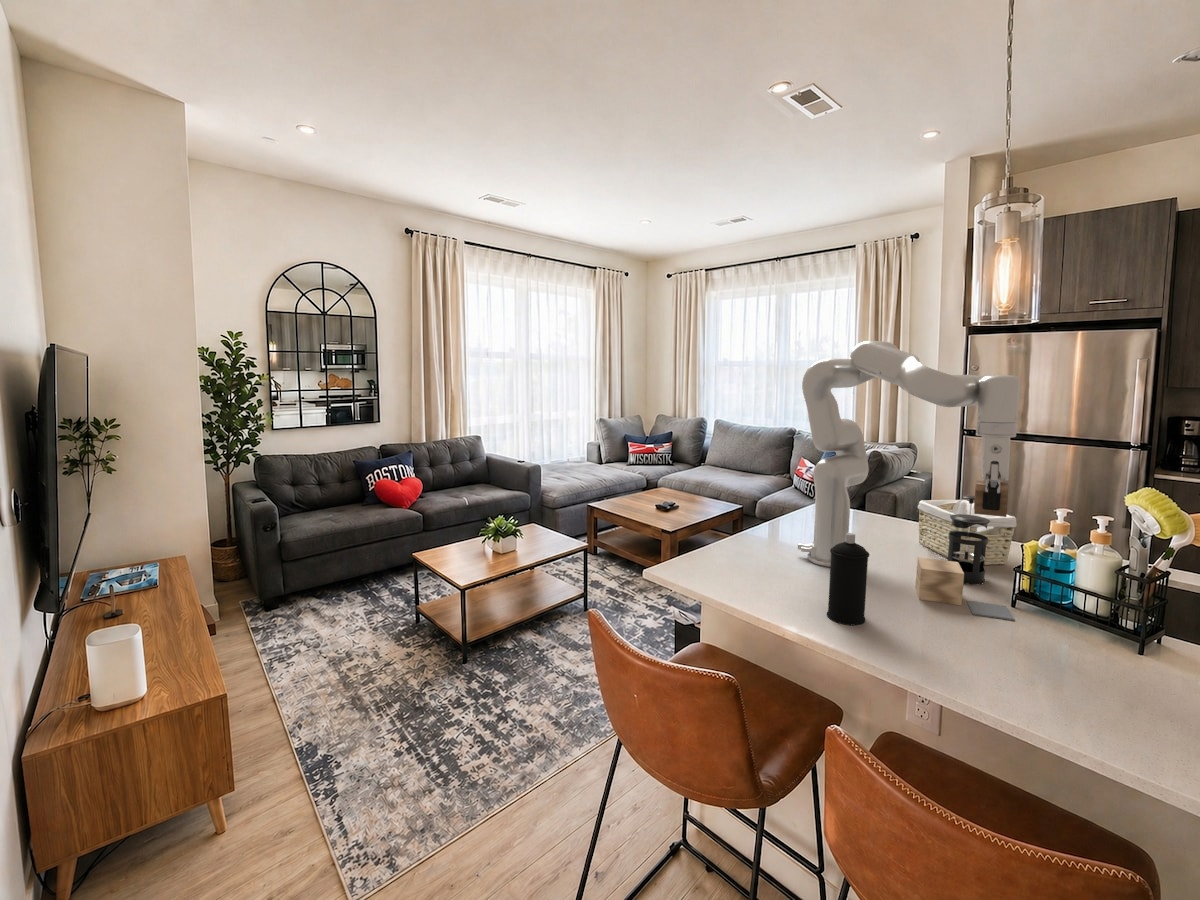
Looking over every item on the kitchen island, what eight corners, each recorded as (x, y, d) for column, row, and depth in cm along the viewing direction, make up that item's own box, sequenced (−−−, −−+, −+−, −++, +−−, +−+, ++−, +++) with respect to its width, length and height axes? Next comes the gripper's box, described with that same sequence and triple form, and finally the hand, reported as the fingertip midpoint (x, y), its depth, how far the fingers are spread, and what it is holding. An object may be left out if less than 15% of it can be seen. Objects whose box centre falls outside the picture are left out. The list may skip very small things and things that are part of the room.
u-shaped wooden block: (1006, 516, 125) (1008, 486, 124) (974, 513, 128) (976, 484, 127) (1004, 511, 130) (1006, 482, 129) (973, 508, 133) (975, 479, 132)
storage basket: (912, 542, 184) (916, 498, 182) (961, 541, 184) (965, 498, 182) (959, 567, 160) (963, 518, 158) (1015, 567, 160) (1020, 517, 158)
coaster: (972, 614, 129) (972, 613, 129) (966, 601, 136) (966, 600, 136) (1014, 620, 126) (1014, 619, 126) (1005, 607, 133) (1006, 605, 133)
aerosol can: (862, 628, 122) (868, 541, 120) (823, 620, 127) (827, 535, 124) (867, 614, 129) (872, 532, 127) (829, 607, 134) (834, 527, 131)
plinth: (918, 599, 138) (921, 568, 137) (915, 586, 146) (917, 557, 145) (961, 605, 134) (964, 573, 133) (955, 591, 142) (958, 562, 141)
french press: (995, 585, 146) (1003, 500, 143) (958, 585, 146) (966, 500, 143) (967, 569, 158) (974, 491, 154) (933, 569, 158) (940, 491, 155)
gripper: (1019, 433, 117) (1013, 516, 120) (1013, 427, 132) (1007, 501, 134) (977, 432, 121) (971, 512, 124) (975, 426, 136) (970, 498, 138)
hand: (990, 506), depth 129 cm, fingers closed on u-shaped wooden block, 6 cm apart
